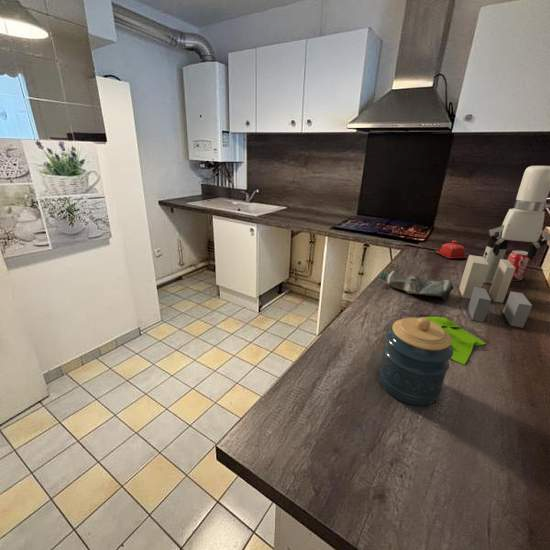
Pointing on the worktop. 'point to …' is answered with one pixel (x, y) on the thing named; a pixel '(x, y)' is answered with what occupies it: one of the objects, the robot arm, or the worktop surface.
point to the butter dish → (452, 250)
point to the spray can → (494, 258)
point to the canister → (415, 360)
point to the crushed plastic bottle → (418, 285)
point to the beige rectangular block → (473, 275)
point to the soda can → (518, 263)
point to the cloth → (458, 339)
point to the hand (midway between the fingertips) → (512, 256)
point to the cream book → (501, 280)
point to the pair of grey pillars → (513, 310)
